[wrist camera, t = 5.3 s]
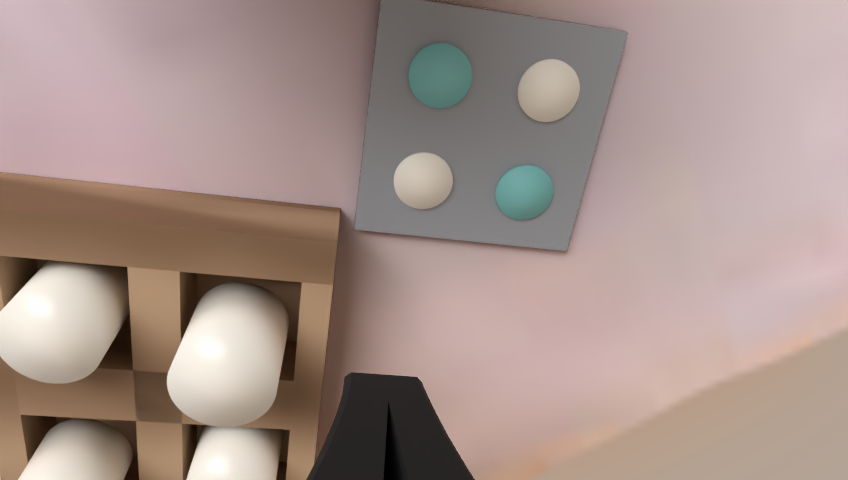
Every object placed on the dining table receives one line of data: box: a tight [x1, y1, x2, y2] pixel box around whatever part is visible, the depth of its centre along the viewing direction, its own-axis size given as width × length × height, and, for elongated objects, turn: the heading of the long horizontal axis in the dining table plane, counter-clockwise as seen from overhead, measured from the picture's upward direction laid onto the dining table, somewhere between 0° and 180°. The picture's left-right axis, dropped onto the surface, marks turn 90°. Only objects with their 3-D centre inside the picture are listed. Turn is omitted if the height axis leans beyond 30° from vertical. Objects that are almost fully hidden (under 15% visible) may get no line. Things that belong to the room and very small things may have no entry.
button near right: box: [167, 282, 289, 427], centre depth 18 cm, size 3×3×3 cm
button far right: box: [186, 425, 283, 480], centre depth 22 cm, size 3×3×3 cm
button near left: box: [0, 260, 130, 384], centre depth 19 cm, size 3×3×3 cm
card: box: [354, 0, 628, 251], centre depth 19 cm, size 7×7×1 cm
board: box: [0, 172, 340, 480], centre depth 21 cm, size 12×10×2 cm
